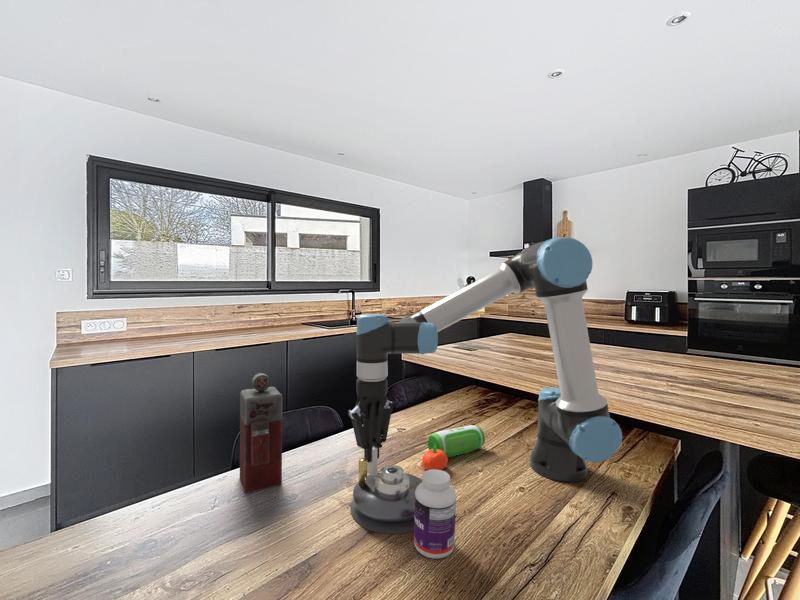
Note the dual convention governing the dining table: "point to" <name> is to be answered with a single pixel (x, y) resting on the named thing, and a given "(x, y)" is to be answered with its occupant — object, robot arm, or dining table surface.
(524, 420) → the dining table surface
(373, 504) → the turntable
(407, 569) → the dining table surface
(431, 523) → the pill bottle
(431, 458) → the pumpkin
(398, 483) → the cover
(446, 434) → the speaker
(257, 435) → the vintage gas pump
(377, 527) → the turntable base
